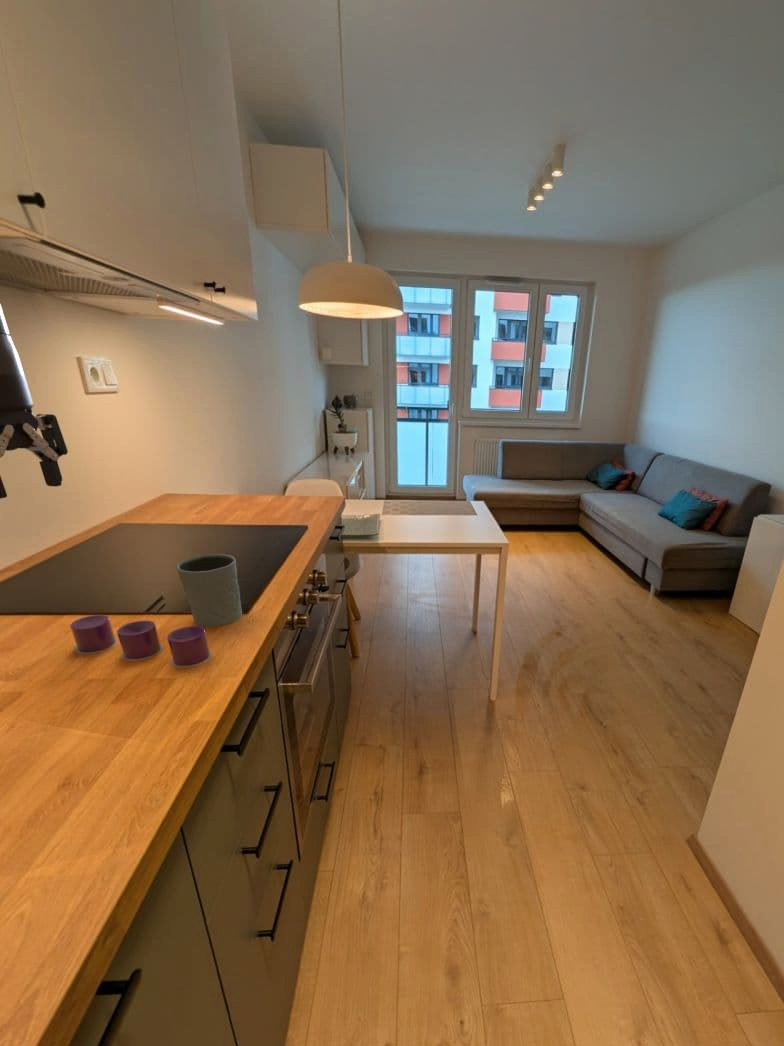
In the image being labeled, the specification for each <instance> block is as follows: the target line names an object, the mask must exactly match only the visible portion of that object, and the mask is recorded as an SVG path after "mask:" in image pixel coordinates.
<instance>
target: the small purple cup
mask: <svg viewBox="0 0 784 1046" xmlns="http://www.w3.org/2000/svg"><path fill="white" fill-rule="evenodd" d="M116 633H117V637H118V640H119V644H120V648H121V651H122V652H123V654H124V657H126V658H128V659H140V658H145V657H149V656H151V655H153V654H155V653H157V652H158V651H159V650H160V649H161V645H160V643H161V642H160V637H159V633H158V629H157V626H156V623H155V622H154V621H153V620H146V619H145V620H137V621H136V620H135V621H132V622H129V623H126V624H124V625H122V626H120V627H119V628H118V629H117V630H116Z"/></svg>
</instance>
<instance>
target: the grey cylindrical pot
mask: <svg viewBox="0 0 784 1046" xmlns="http://www.w3.org/2000/svg"><path fill="white" fill-rule="evenodd" d="M176 571H177V574H178V577H179V580H180V581H181V584H182V587H183V590H184V592H185V596H186V599H187V602H188V604H189V607H190V608H191V610H190V612H191V615H192V618H193V620H194V623H195V624H196V626H199V627H202V628H215V627H222V626H226V625H230V624H232V623H234V622H236V621H238V620H239V619H241V618H242V616H243V611H242V610H243V609H242V601H241V593H240V586H239V581H238V578H239V577H238V569H237V561H236V557H234V556H233V555H230V554H224V553H213V554H204V555H203V554H202V555H198V556H193V557H189V558H187V559H185V560H182V561H181V562H179V563H178V564H177V566H176Z"/></svg>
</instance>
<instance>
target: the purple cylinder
mask: <svg viewBox="0 0 784 1046" xmlns="http://www.w3.org/2000/svg"><path fill="white" fill-rule="evenodd" d="M69 627H70V630H71V633H72V636H73V639H74V642H75V646H77V648H78V650H79V651H80V652H96V651H100V650H103V649H106V648H108V647H110V646H112V645H113V644H114V643H115V642H116V639H115V638H116V636H115V633H114V630H113V627H112V623H111V619H110V616H108V615H105V614H93V615H87V616H83V617H80V618H77V619H76V620H73V622H72V623H70V626H69Z"/></svg>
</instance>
